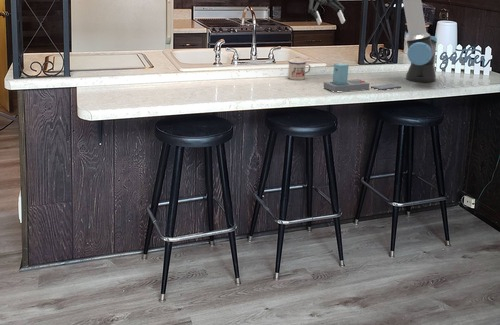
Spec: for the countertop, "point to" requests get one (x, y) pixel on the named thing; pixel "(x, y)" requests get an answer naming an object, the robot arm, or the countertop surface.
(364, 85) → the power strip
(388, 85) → the phone
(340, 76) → the brick
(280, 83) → the countertop surface
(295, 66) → the teacup with lid
